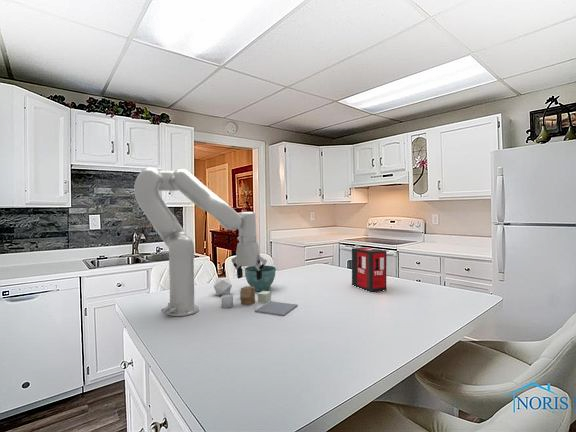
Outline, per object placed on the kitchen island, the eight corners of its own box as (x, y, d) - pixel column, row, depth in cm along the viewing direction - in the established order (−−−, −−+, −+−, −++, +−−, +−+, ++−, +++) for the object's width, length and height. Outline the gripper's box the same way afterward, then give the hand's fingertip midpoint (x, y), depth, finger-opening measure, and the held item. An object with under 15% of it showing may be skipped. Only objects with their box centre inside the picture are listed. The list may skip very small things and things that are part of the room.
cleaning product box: (386, 290, 163) (386, 251, 162) (372, 293, 159) (372, 252, 158) (365, 283, 178) (365, 247, 177) (351, 285, 174) (351, 248, 173)
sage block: (265, 303, 144) (265, 294, 143) (257, 302, 145) (257, 293, 145) (271, 300, 148) (271, 291, 148) (263, 299, 150) (263, 290, 150)
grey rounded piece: (229, 308, 136) (228, 298, 136) (219, 307, 138) (219, 297, 138) (235, 305, 140) (235, 295, 140) (226, 304, 143) (225, 294, 142)
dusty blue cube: (250, 300, 149) (250, 291, 149) (240, 299, 149) (240, 291, 149) (252, 297, 154) (252, 288, 154) (242, 296, 154) (242, 288, 154)
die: (225, 299, 152) (236, 280, 156) (208, 290, 152) (220, 271, 156) (225, 300, 160) (235, 282, 164) (209, 292, 160) (220, 274, 164)
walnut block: (249, 305, 140) (249, 289, 140) (241, 304, 142) (240, 288, 142) (255, 302, 144) (254, 287, 144) (246, 301, 146) (246, 286, 146)
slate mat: (283, 316, 126) (283, 314, 126) (254, 312, 131) (254, 310, 131) (297, 305, 139) (297, 304, 139) (270, 302, 144) (270, 301, 144)
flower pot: (271, 294, 158) (271, 271, 158) (240, 292, 162) (240, 270, 161) (279, 286, 174) (279, 265, 174) (250, 284, 177) (250, 265, 177)
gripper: (226, 240, 143) (228, 279, 143) (261, 241, 135) (262, 281, 136) (235, 238, 149) (237, 275, 150) (269, 239, 142) (270, 277, 143)
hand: (249, 278), depth 143 cm, fingers open, 9 cm apart
